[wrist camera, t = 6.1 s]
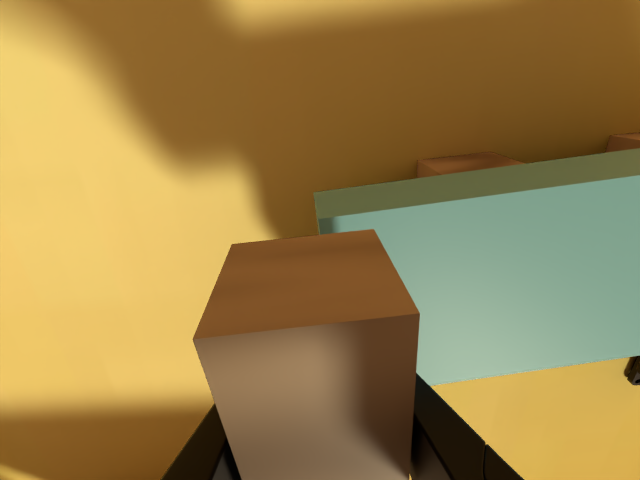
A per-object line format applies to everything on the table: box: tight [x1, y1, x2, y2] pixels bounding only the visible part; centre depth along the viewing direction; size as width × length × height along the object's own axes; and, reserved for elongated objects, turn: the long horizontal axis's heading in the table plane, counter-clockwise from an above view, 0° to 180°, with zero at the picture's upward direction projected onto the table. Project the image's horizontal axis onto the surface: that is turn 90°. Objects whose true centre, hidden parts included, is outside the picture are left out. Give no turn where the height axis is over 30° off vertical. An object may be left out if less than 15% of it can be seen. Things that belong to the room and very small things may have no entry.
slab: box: [313, 148, 640, 386], centre depth 14 cm, size 18×9×3 cm, turn 97°
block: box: [193, 229, 420, 480], centre depth 9 cm, size 8×4×4 cm, turn 5°
